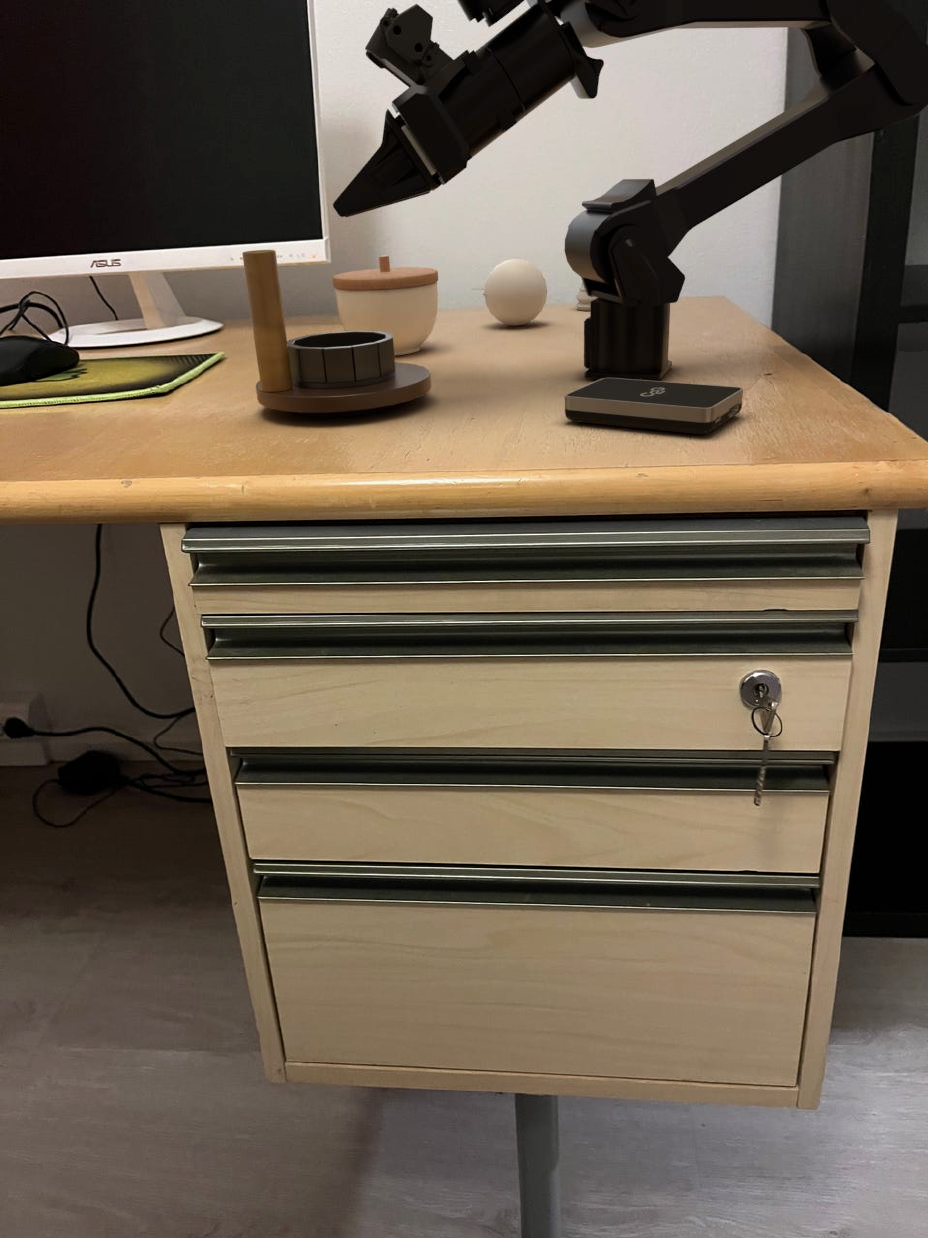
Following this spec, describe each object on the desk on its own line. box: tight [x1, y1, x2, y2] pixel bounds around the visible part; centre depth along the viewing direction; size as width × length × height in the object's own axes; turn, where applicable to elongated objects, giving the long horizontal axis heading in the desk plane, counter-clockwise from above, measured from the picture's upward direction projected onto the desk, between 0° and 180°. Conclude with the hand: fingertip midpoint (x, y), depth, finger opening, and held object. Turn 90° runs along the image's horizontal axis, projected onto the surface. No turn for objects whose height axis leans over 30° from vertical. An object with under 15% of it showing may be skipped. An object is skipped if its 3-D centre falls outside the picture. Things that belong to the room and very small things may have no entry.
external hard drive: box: [564, 378, 744, 435], centre depth 68 cm, size 7×11×2 cm, turn 56°
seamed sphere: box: [470, 258, 548, 326], centre depth 111 cm, size 10×7×7 cm
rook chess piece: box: [575, 281, 597, 312], centre depth 120 cm, size 4×4×8 cm
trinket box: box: [332, 254, 439, 357], centre depth 98 cm, size 11×11×9 cm
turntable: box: [241, 249, 432, 413], centre depth 75 cm, size 14×14×11 cm
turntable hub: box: [299, 405, 394, 418], centre depth 77 cm, size 8×8×1 cm
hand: (338, 211), depth 74 cm, fingers open, 9 cm apart
